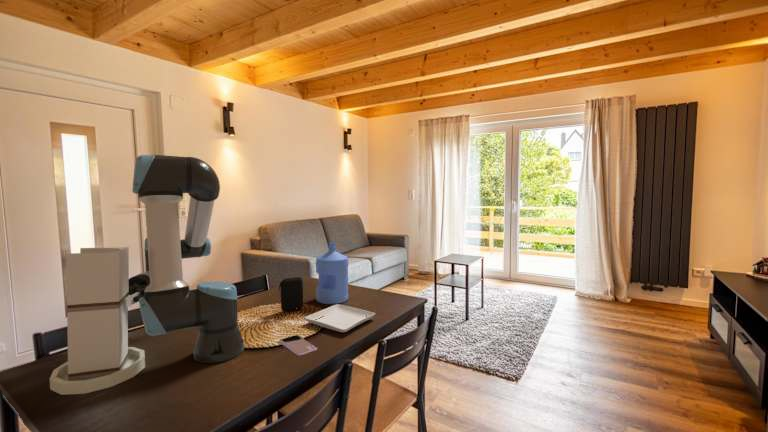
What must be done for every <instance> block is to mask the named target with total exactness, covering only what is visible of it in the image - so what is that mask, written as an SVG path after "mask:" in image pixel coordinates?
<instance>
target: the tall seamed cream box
mask: <svg viewBox="0 0 768 432" xmlns="http://www.w3.org/2000/svg"><path fill="white" fill-rule="evenodd" d="M129 248H130V247H129V246H126V247H125V246H119V247H118V246H117V247H116V246H114V247H113V246H112V247H111V246H109V247H106V246H104V247H81V248H79V249H80V253H79V252H78V253H77V252H76V253H75V252H74V253H66V306H67V307H66V310H67V311H66V316H67V317H66V318H67V319H66V320H67V321H66V322H67V362H68V381H76V380H83V379H90V378H97V377H102V376H106V375H110V374H113V373H115V372H117V371H120V370H122V369H123V367H124V365H125V364H126V362H127V360H128V358H129V352H128V347H129V335H128V334H129V333H128V330H129V329H128V328H129V321H128V320H129V317H128V316H129V313H128V312H129V311H128V309H129V307H127V308H124V298H126V297H128V296H130V295H129V279H130V278H129V277H130V276H129V275H130V274H129V273H130V269H129V252H130V251H129Z"/></svg>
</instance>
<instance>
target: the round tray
mask: <svg viewBox="0 0 768 432" xmlns="http://www.w3.org/2000/svg"><path fill="white" fill-rule="evenodd" d="M128 352H129V358H128V360H127V362H126V364H125V365H124V367H123V369H122V370H120V371H117V372H115V373H113V374H110V375H106V376H102V377H97V378H90V379H83V380H76V381H68V361H66V362H64V363H62V364H61V365H59V366H58V367H56V368H54V369H53V371H52V373H51V374H50V377H49V389H50V390H51V391H53V392H55V393H57V394H58V395H61V396H62V395H63V396H64V395H67V396H68V395H83V394H84V395H85V394H88V393H92V392H97V391H100V390H105V389H108V388H113V387H115V386H116V385H117V386H118V385H119V384H121V383H123V382H125V381H128V380H130V379H132V378H134V377H135V376H137V374H139V372H141V371H142V370H144V369H145V368H146V356H145V353H146V351H145V349H141V348H137V347H135V346H128Z"/></svg>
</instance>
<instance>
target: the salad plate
mask: <svg viewBox="0 0 768 432" xmlns="http://www.w3.org/2000/svg"><path fill="white" fill-rule="evenodd" d="M375 315H376V312H372V311H369V310H365V309H361V308H357V307H353V306H349V305H345V304H341V303H339V304H332V305H331V306H329V307H327V308H324V309H322V310H318V311H316V312H314V313H311V314H309V315H306V316H304V320H305V321H306V322H308V323H311V324H313V323H314V324H313V325H315V326H316V325H317V324H318V325H317V326H318V327H321V328H324V329H328V330H332V331H334V332H335V331H336V332H339V333H346V332H348V331H350V330H351V329H354V328H355V327H357V326H359V325H361V324H363V323H365V322H366V321H369V320H371V319H372V318H373V317H375ZM322 316H324V317H322ZM366 316H367V317H366ZM320 317H322V318H320ZM318 318H320V319H318ZM370 318H371V319H370ZM315 319H318V320H316V321H315ZM320 325H322V326H320Z"/></svg>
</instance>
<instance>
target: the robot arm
mask: <svg viewBox="0 0 768 432" xmlns="http://www.w3.org/2000/svg"><path fill="white" fill-rule="evenodd" d="M132 180H133V181H132V190H131V191H132V193H133V194H135V195H138V201H140V202H141V203H142V204H143V205H145V206H144V208H145V222H146V223H145V225H146V238H145V239H144V248H143V249H144V250H143V251H144V261H145V266H144V267H145V271H143V272H140V273H138V274H136V275H134V276H131V277H130V278H129V296H128V297H126V298H124V308H127V307H128V308H129V307H131V306H133V305H135V304H137V303H138V305H139V309H140V313H141V314H140V315H141V318H142V322H143V326H144V330H145V333H146V334H147V335H149V336H159V335H167V334H170V333H174V332H179V331H183V330H189V329H194V328H198V334H197V338H196V341H195V345H194V347H193V353H192V354H193V355H192V356H193V359H194V360H195V361H196V362H198V363H201V364H214V363H215V364H217V363H221V362H225V361H228V360H232V359H234V358H237V357H238V356H239V355H241V354H242V353H243V352H244V350H245V341H244V339H243V336H242V334H241V331H240V329H239V323H238V321H239V320H238V319H239V317H238V316H239V315H238V314H239V313H238V299H239V297H238V293H237V287H236V285H235V284H233V283H231V282H226V281H217V280H216V281H212V280H211V281H204V282H200V283H198V284H197V285H196V289H190V285H189V283H187V281H185V280H184V276H183V274H184V273H183V263H182V262H183V261H182V259H193V258H194V259H195V258H201V257H207V256H210V254H211V252H212V242H211V240H210V239H209V237H208V234H209V228H210V223H211V218H212V215H213V214H212V213H213V210H214V205H215V201H217V199H218V198H219V194H220V191H221V184H220V180H219V177H218V175H217V173H216V171H215V170H214V169H213V168H212V167H211V165H210V164H208V163H207V162H206V161H204V160H202V159H200V158H197V157H194V156H193V157H192V156H177V155H176V156H175V155H166V154H165V155H163V154H141V155H139V156H137V157H136V159H135V161H134V170H133V179H132ZM184 194H188V195H189V205H188V212H187V220H186V224H185V226H186V227H185V233H184V239H181V232H180V231H181V230H180V215H179V203H181V201H182V200H183V199H184Z"/></svg>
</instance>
